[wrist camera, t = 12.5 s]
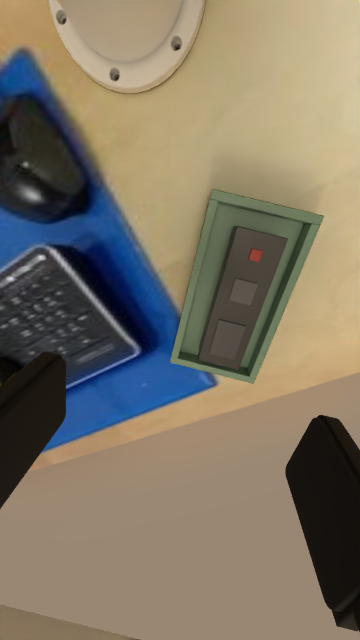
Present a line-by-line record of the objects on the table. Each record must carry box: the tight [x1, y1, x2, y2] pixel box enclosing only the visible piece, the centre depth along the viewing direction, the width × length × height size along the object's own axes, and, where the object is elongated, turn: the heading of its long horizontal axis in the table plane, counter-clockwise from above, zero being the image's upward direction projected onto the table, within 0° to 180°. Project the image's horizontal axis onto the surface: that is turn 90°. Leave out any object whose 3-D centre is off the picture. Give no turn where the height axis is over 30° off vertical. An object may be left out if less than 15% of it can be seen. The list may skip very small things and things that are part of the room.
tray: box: [170, 189, 324, 384], centre depth 26 cm, size 19×10×2 cm, turn 167°
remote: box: [198, 226, 288, 370], centre depth 25 cm, size 14×5×4 cm, turn 167°
